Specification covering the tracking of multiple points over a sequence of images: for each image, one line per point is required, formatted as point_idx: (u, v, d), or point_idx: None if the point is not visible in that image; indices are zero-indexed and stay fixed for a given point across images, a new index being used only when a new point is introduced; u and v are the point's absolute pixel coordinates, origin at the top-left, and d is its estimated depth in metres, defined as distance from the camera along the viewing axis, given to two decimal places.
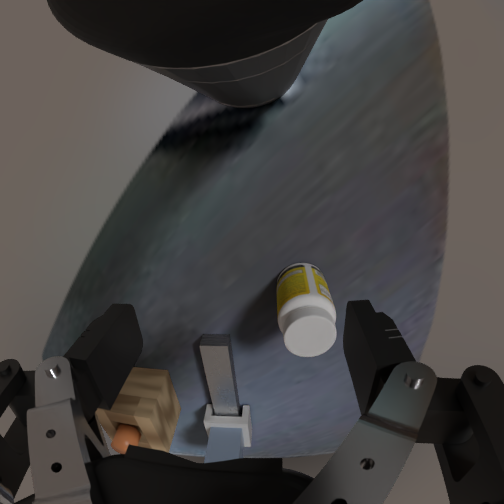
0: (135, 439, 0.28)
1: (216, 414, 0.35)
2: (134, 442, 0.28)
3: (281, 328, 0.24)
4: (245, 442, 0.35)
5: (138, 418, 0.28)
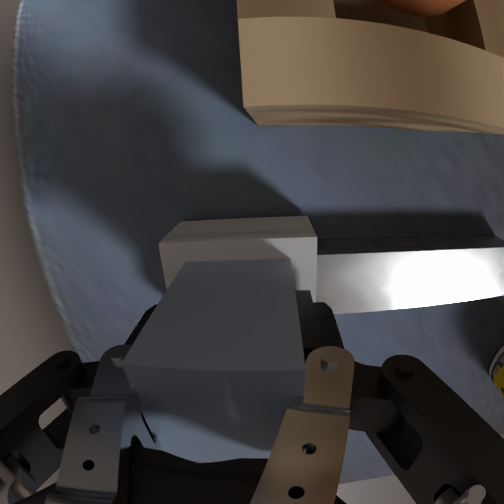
0: None
1: None
2: None
3: None
4: None
5: None
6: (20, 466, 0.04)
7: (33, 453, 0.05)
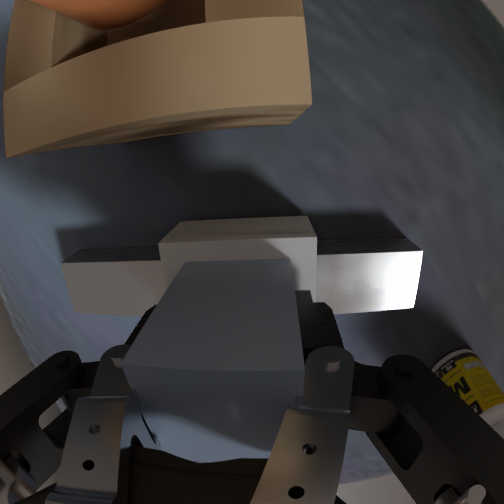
0: None
1: (158, 263, 0.13)
2: None
3: (493, 415, 0.11)
4: None
5: (284, 33, 0.05)
6: (20, 466, 0.04)
7: (33, 453, 0.05)
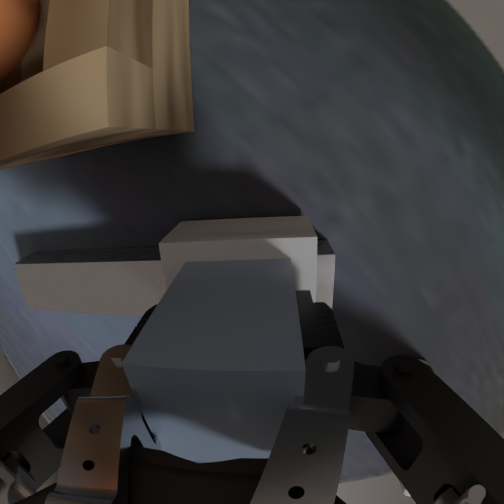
0: None
1: (83, 265, 0.14)
2: None
3: None
4: None
5: (90, 67, 0.05)
6: (20, 466, 0.04)
7: (33, 453, 0.05)
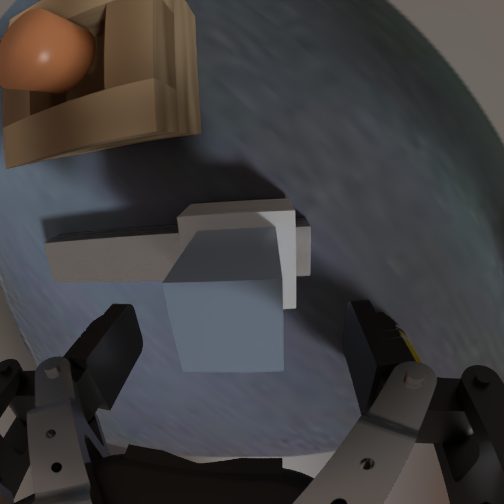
0: (56, 82, 0.08)
1: (110, 240, 0.18)
2: (48, 81, 0.07)
3: None
4: None
5: (142, 91, 0.09)
6: None
7: (0, 462, 0.04)
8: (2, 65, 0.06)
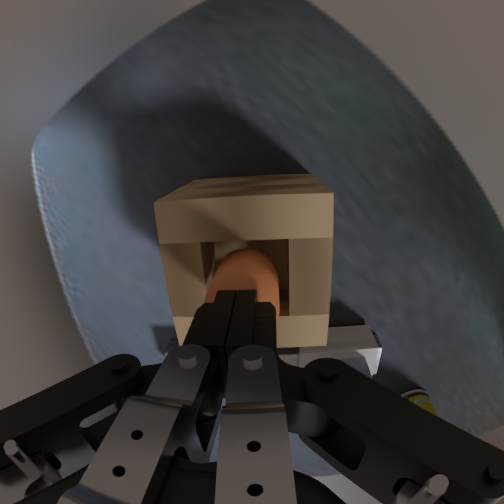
0: None
1: None
2: None
3: None
4: None
5: (320, 321, 0.15)
6: (48, 466, 0.04)
7: (67, 454, 0.05)
8: None
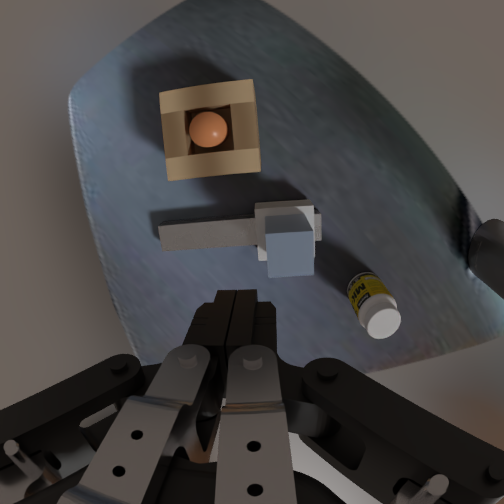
0: (217, 144, 0.25)
1: (208, 223, 0.33)
2: (216, 144, 0.25)
3: (377, 298, 0.31)
4: None
5: (253, 153, 0.24)
6: (48, 466, 0.04)
7: (67, 454, 0.05)
8: (195, 134, 0.23)
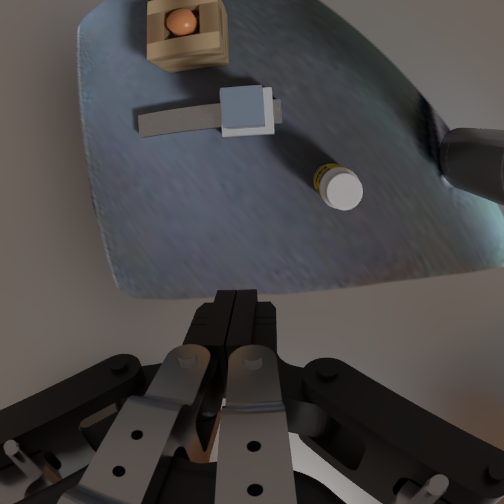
0: (188, 34, 0.26)
1: (181, 109, 0.34)
2: (187, 32, 0.26)
3: (336, 169, 0.31)
4: (232, 130, 0.33)
5: (215, 35, 0.25)
6: (48, 466, 0.04)
7: (67, 454, 0.05)
8: (171, 23, 0.24)
